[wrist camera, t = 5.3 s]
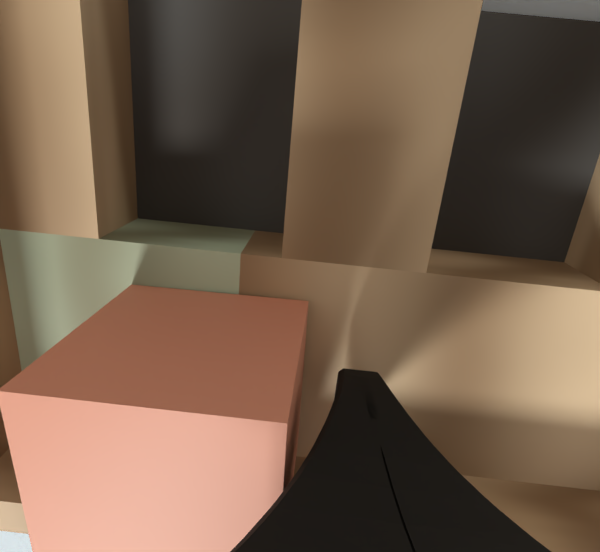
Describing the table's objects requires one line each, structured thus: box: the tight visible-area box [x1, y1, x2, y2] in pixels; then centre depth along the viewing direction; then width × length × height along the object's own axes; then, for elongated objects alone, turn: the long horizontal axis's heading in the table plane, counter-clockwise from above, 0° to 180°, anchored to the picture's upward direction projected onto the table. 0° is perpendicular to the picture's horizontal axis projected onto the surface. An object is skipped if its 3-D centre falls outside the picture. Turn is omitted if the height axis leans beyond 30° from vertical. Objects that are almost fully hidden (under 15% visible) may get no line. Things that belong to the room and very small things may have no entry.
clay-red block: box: [0, 285, 309, 552], centre depth 9 cm, size 4×4×4 cm
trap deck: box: [0, 0, 600, 552], centre depth 10 cm, size 20×13×5 cm, turn 85°
